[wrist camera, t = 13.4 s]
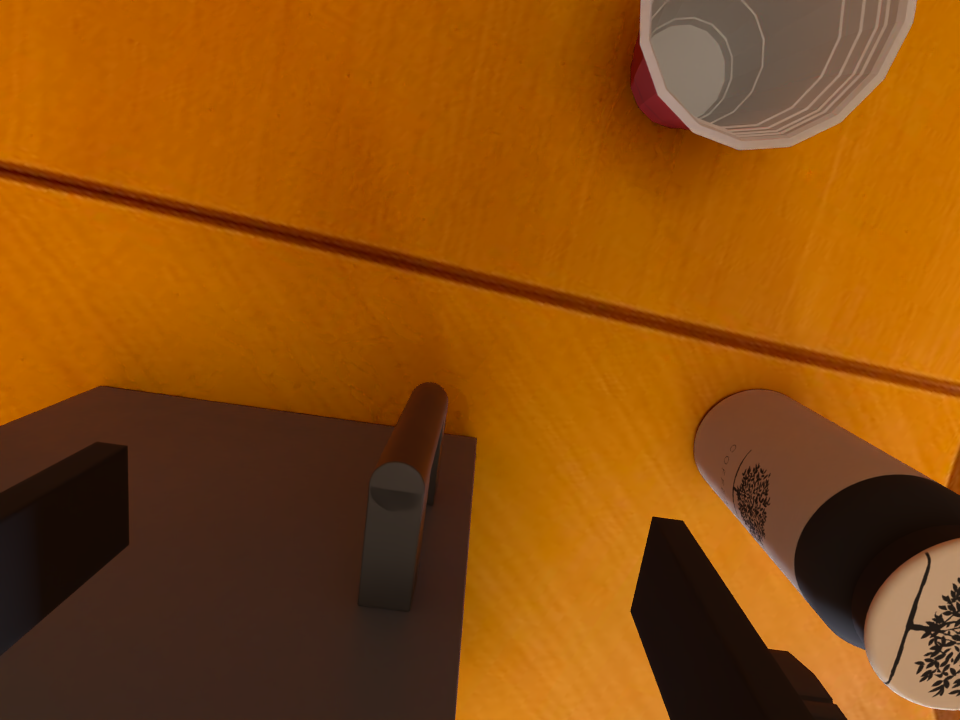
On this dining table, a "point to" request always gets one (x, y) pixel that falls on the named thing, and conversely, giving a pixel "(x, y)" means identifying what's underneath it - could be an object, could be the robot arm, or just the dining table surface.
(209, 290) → the dining table surface
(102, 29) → the dining table surface
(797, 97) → the plastic cup
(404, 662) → the cupboard door
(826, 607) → the travel mug
